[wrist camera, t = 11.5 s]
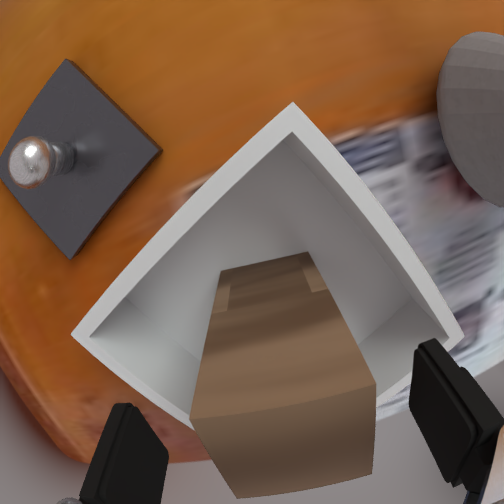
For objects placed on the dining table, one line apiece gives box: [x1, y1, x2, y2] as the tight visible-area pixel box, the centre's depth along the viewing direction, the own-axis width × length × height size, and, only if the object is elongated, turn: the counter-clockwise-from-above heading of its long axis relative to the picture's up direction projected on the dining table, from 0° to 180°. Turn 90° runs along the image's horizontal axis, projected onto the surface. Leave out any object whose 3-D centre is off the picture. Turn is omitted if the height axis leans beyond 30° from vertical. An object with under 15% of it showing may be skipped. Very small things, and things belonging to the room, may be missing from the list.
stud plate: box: [0, 59, 163, 260], centre depth 14 cm, size 9×9×5 cm
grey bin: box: [71, 102, 464, 430], centre depth 17 cm, size 15×15×6 cm
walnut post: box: [189, 252, 376, 499], centre depth 13 cm, size 5×5×11 cm
